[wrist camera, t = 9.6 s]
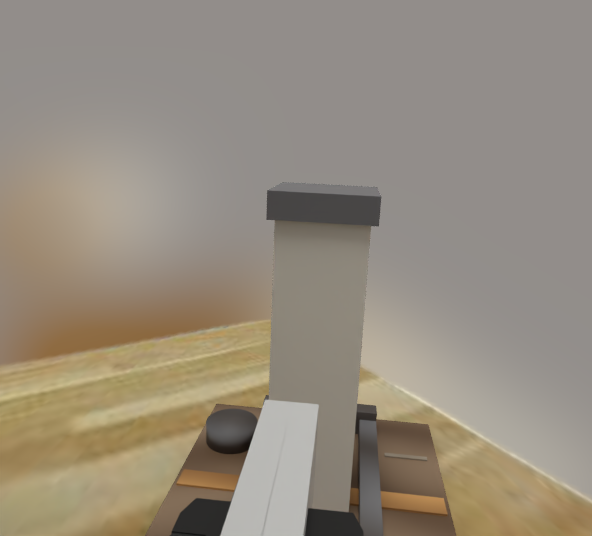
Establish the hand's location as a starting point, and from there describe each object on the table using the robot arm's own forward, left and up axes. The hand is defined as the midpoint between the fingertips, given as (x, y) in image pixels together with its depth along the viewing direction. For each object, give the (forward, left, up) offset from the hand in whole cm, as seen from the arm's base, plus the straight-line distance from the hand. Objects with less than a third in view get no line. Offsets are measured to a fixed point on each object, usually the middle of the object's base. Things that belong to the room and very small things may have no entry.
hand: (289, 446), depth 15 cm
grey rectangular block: (-4, +10, -9) cm, 14 cm away
